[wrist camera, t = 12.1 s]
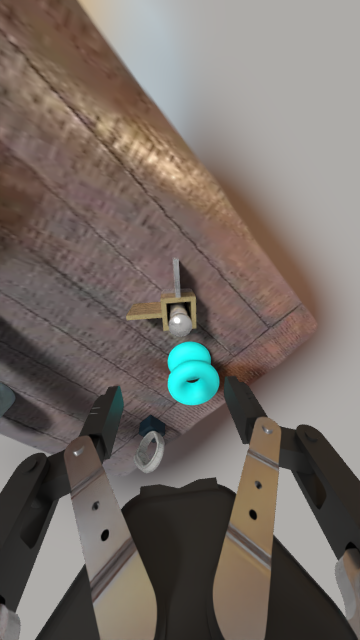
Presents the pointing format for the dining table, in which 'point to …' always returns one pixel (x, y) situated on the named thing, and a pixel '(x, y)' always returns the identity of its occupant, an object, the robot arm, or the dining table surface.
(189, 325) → the hinge pin
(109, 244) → the dining table surface
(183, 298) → the bracket
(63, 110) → the dining table surface
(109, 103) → the dining table surface
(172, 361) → the donuts
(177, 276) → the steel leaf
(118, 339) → the dining table surface
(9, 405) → the embossed green planter pot
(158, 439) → the watch
